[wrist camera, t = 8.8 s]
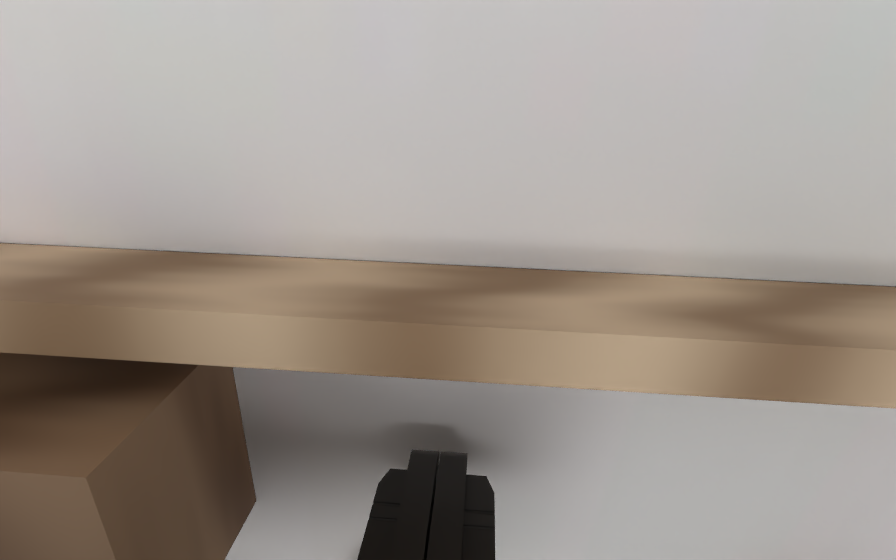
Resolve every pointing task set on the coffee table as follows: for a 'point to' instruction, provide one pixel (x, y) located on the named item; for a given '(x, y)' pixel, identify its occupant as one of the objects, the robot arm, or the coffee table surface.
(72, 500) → the walnut block
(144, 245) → the coffee table surface
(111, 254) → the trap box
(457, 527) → the robot arm
